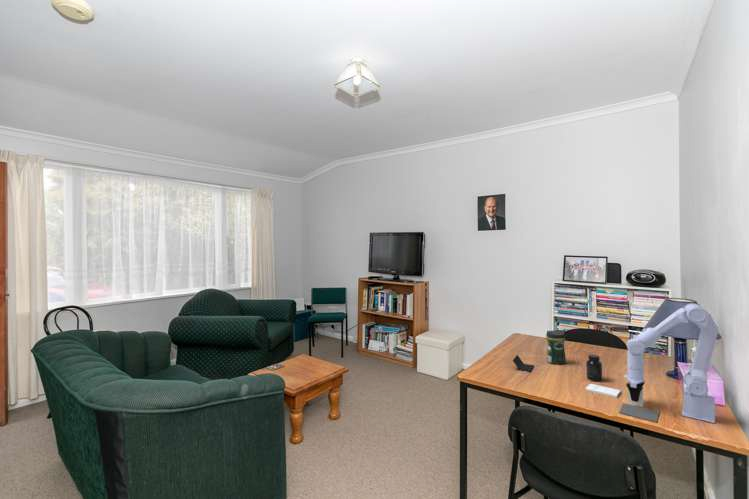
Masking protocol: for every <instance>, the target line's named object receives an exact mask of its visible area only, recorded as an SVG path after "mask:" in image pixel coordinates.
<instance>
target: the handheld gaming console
mask: <svg viewBox="0 0 749 499" xmlns="http://www.w3.org/2000/svg"><path fill="white" fill-rule="evenodd" d="M512 363H514V364H515V366H516V367H517V369H518V371H519V370H521V371H520V372H524V371H527V372H526V373H531V372H532V371H533V370H534V368H535V365H534V364H528V363H524V362H523V360H522V359H521V358H520V356H519V355H518V354H516V356H514V358H513V359H512ZM533 367H534V368H533Z"/></svg>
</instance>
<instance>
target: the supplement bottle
mask: <svg viewBox="0 0 749 499" xmlns="http://www.w3.org/2000/svg"><path fill="white" fill-rule="evenodd" d="M587 357H588V360H586V361H585V362H586V379H587V380H589V381H591V382H597V383H598V382H602V381H603V363H602V361H600V360H601V359H600V356H599V355H597V354H588V356H587Z"/></svg>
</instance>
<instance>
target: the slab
mask: <svg viewBox="0 0 749 499" xmlns="http://www.w3.org/2000/svg"><path fill="white" fill-rule="evenodd" d="M627 404H629V405H633V406H638V407H642V408H644V407H643V406H644V388H643V389H642V390H641V392H640V395H639V400H638V402H635V401H632V400H631V396H630V392H629V389H628V388H627Z"/></svg>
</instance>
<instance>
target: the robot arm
mask: <svg viewBox="0 0 749 499" xmlns="http://www.w3.org/2000/svg"><path fill="white" fill-rule="evenodd" d="M714 320H715V319H714V318H713V316H712V314H711V313H709V312H708V311H707V310H706V309H705V308H704V307H702V306H701V305H700V304H698V303H693V302H692V303H691V302H690V303H687V304H685V305H684V306H683V307H681V308H679V309H677V310H676V311H674V312H673V313H671V314H670V315H669V316H668V317H666V318H665V319H664V320H663V321H661V322H660V323H659V324H658V325H656V326H654V327H647V328H643V329H642V331H641V332H640V333H639V334H637V335H634V336H633V337H632V338H630V339H628V341H627V342H626V348H627V352H626V353H627V355H626V356H627V357H626V362H627V364H626V366H627V368H626V369H627V371H626V372H627V373H626V374H625V375H623V378H624V379H626V380H628V382H626V384H625V386H626V387H627V390H628V389H629V392H630V396H631V400H632V401H635V402H638V400H639V395H640V392H641V390H642V389H643V390H644V385H645V383H646V381H645V371H644V370H645V369H644V368H645V360H644V353H645V350H646V349H648V348H649V347H651V346H653V345H654V344H656V342H659V340H661V339H662V334H664V333H665V332H667V331H669V330H670V329H672V328H673V327H675V326H676V325H678V324H688V323H689V322H692V323H693V324H695V325H696V326H697V327H698V328H699V329H700V331H699V335H698V338H697V342H696V345H695V350H694V354H693V358H692V360H691V365H690V367H689V368H688V371H687V373H686V374H685V375H684V376H683V379H682V380H683V383H684V384H685V387H684V388H683V394H682V395H683V396H682V397H683V399H682V400H683V402H682V403H683V406H682V410H681V416H683V417H686V418H690V419H695V420H699V421H704V422H707V423H708V422H709V423H712V424H715V423H716V417H717V412H716V399H715V398H716V397H714V396H711V395H709V394H708V393H709V387H708V371H709V368H710V365H711V359H712V357H713V356H712V355H713V352H714V349H715V344H716V341H717V337H718V333H719V327H718V326H717V324H716V322H715V321H714Z"/></svg>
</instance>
